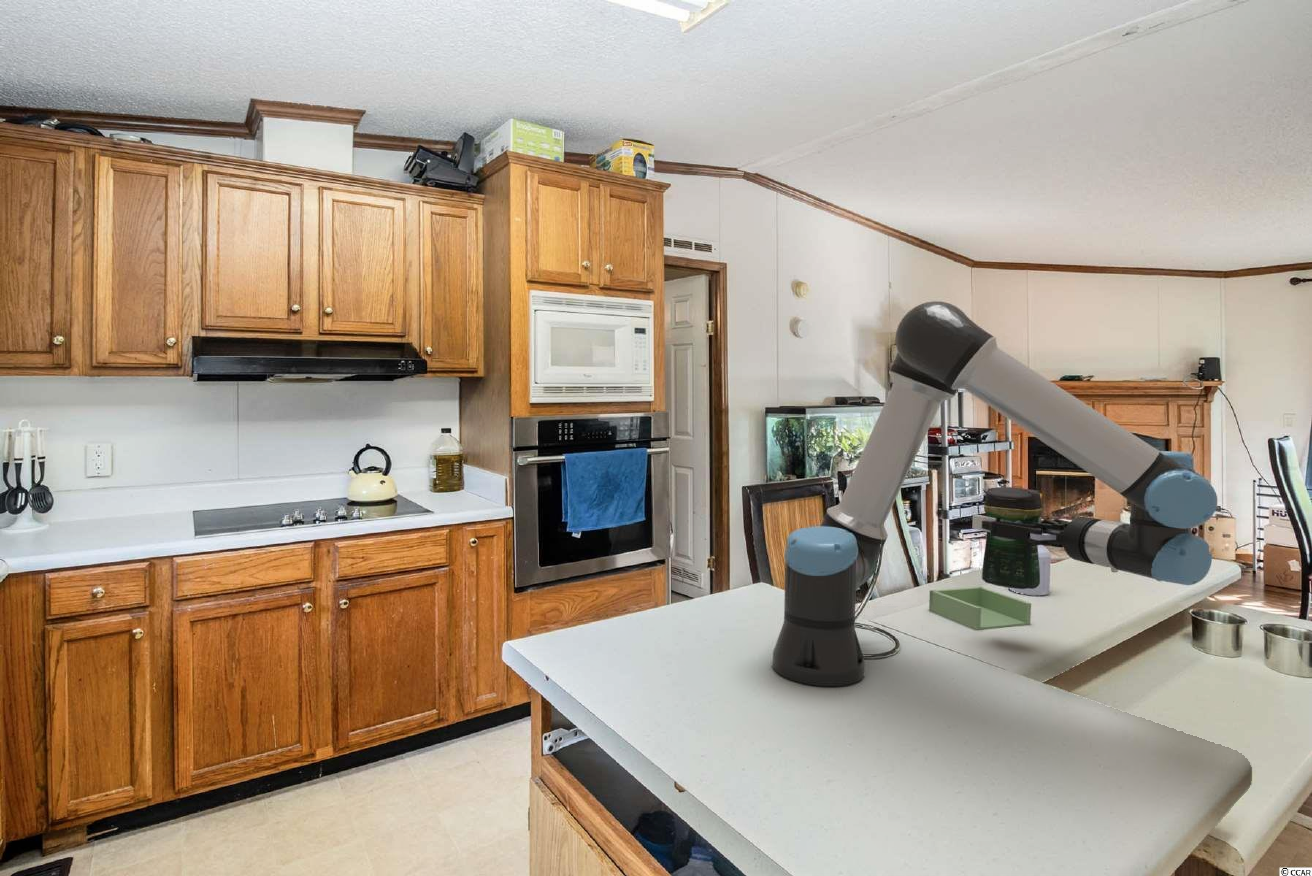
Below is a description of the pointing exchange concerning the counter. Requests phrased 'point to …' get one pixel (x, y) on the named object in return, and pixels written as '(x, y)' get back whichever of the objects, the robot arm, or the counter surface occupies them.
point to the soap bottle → (1044, 573)
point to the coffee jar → (1010, 557)
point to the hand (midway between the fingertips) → (993, 520)
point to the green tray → (980, 607)
